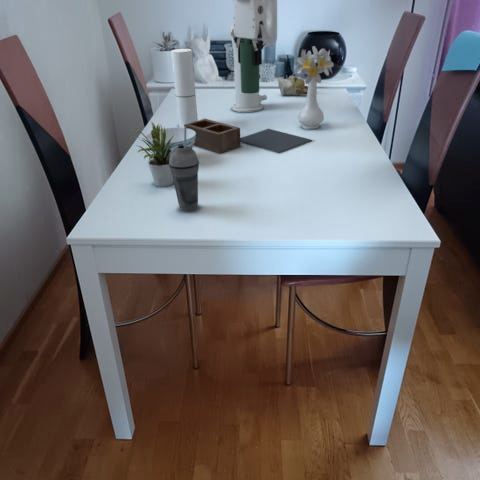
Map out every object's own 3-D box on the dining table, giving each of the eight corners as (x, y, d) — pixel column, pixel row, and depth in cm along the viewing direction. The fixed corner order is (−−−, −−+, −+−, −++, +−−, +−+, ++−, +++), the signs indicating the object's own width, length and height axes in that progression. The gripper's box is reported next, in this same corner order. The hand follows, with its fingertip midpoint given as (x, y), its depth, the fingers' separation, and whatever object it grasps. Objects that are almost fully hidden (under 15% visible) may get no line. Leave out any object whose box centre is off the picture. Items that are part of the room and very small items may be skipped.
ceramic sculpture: (278, 70, 216) (312, 72, 215) (277, 91, 221) (310, 93, 220) (277, 75, 207) (313, 77, 206) (276, 97, 213) (310, 99, 212)
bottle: (250, 88, 158) (249, 25, 147) (263, 91, 154) (262, 26, 144) (237, 91, 155) (235, 27, 144) (250, 94, 151) (248, 29, 141)
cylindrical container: (199, 122, 186) (193, 48, 171) (196, 128, 180) (189, 51, 165) (181, 123, 187) (173, 48, 172) (177, 128, 181) (169, 52, 166)
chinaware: (207, 158, 154) (205, 133, 149) (171, 171, 145) (168, 145, 141) (176, 149, 162) (173, 124, 158) (140, 161, 154) (136, 136, 149)
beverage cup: (174, 203, 127) (164, 123, 115) (202, 201, 127) (195, 121, 115) (174, 215, 121) (163, 132, 109) (203, 213, 121) (196, 130, 109)
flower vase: (297, 136, 169) (300, 54, 154) (290, 121, 183) (292, 45, 168) (334, 134, 169) (341, 52, 154) (324, 119, 184) (329, 43, 169)
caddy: (206, 136, 172) (205, 118, 169) (240, 146, 162) (240, 127, 158) (185, 142, 167) (183, 124, 164) (219, 153, 157) (218, 134, 153)
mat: (268, 129, 176) (268, 128, 175) (311, 140, 164) (311, 139, 164) (236, 140, 167) (236, 139, 167) (279, 153, 155) (279, 151, 155)
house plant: (131, 178, 142) (120, 119, 132) (176, 169, 146) (169, 112, 137) (143, 195, 132) (133, 133, 122) (191, 186, 136) (185, 125, 126)
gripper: (279, -8, 136) (278, 65, 147) (237, -9, 146) (239, 58, 157) (260, -5, 132) (261, 69, 143) (218, -7, 142) (222, 62, 153)
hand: (249, 63), depth 150 cm, fingers closed on bottle, 5 cm apart
